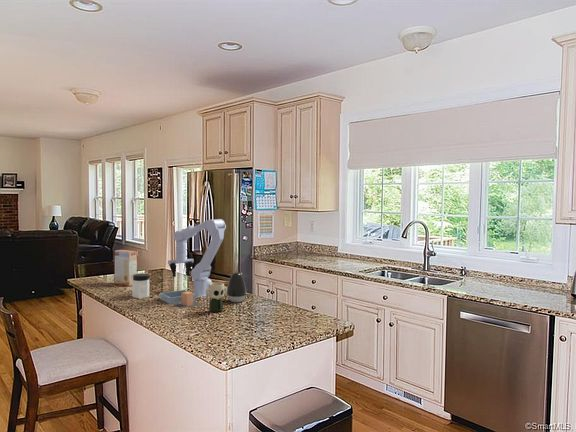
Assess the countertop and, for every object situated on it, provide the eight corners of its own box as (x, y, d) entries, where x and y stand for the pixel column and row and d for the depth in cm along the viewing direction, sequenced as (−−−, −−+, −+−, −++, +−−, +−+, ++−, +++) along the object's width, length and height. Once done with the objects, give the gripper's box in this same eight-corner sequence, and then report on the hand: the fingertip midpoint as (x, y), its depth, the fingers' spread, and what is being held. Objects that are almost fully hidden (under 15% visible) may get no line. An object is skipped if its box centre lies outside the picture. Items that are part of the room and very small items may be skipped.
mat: (194, 302, 220) (194, 301, 220) (203, 306, 212) (203, 305, 212) (172, 305, 213) (172, 304, 213) (180, 309, 205) (180, 308, 205)
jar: (134, 299, 224) (134, 276, 223) (130, 296, 231) (130, 274, 230) (151, 297, 229) (151, 275, 228) (147, 294, 236) (147, 272, 235)
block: (187, 303, 216) (187, 291, 215) (193, 304, 213) (193, 292, 213) (181, 304, 212) (181, 292, 212) (187, 305, 210) (187, 293, 210)
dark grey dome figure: (249, 300, 226) (250, 271, 226) (239, 304, 217) (240, 274, 216) (233, 298, 231) (233, 270, 230) (222, 302, 221) (223, 273, 221)
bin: (184, 296, 233) (184, 289, 233) (195, 301, 222) (195, 294, 222) (159, 299, 225) (159, 292, 224) (169, 305, 213) (169, 298, 213)
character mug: (209, 314, 197) (209, 286, 197) (202, 311, 203) (202, 283, 203) (230, 311, 204) (230, 284, 203) (222, 307, 210) (223, 281, 209)
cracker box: (137, 285, 261) (137, 250, 260) (128, 286, 256) (128, 251, 255) (122, 282, 268) (122, 249, 267) (114, 283, 263) (114, 250, 262)
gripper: (190, 250, 249) (189, 273, 249) (165, 252, 240) (165, 276, 241) (195, 251, 243) (195, 275, 244) (170, 253, 234) (170, 278, 235)
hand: (180, 276), depth 242 cm, fingers open, 7 cm apart
